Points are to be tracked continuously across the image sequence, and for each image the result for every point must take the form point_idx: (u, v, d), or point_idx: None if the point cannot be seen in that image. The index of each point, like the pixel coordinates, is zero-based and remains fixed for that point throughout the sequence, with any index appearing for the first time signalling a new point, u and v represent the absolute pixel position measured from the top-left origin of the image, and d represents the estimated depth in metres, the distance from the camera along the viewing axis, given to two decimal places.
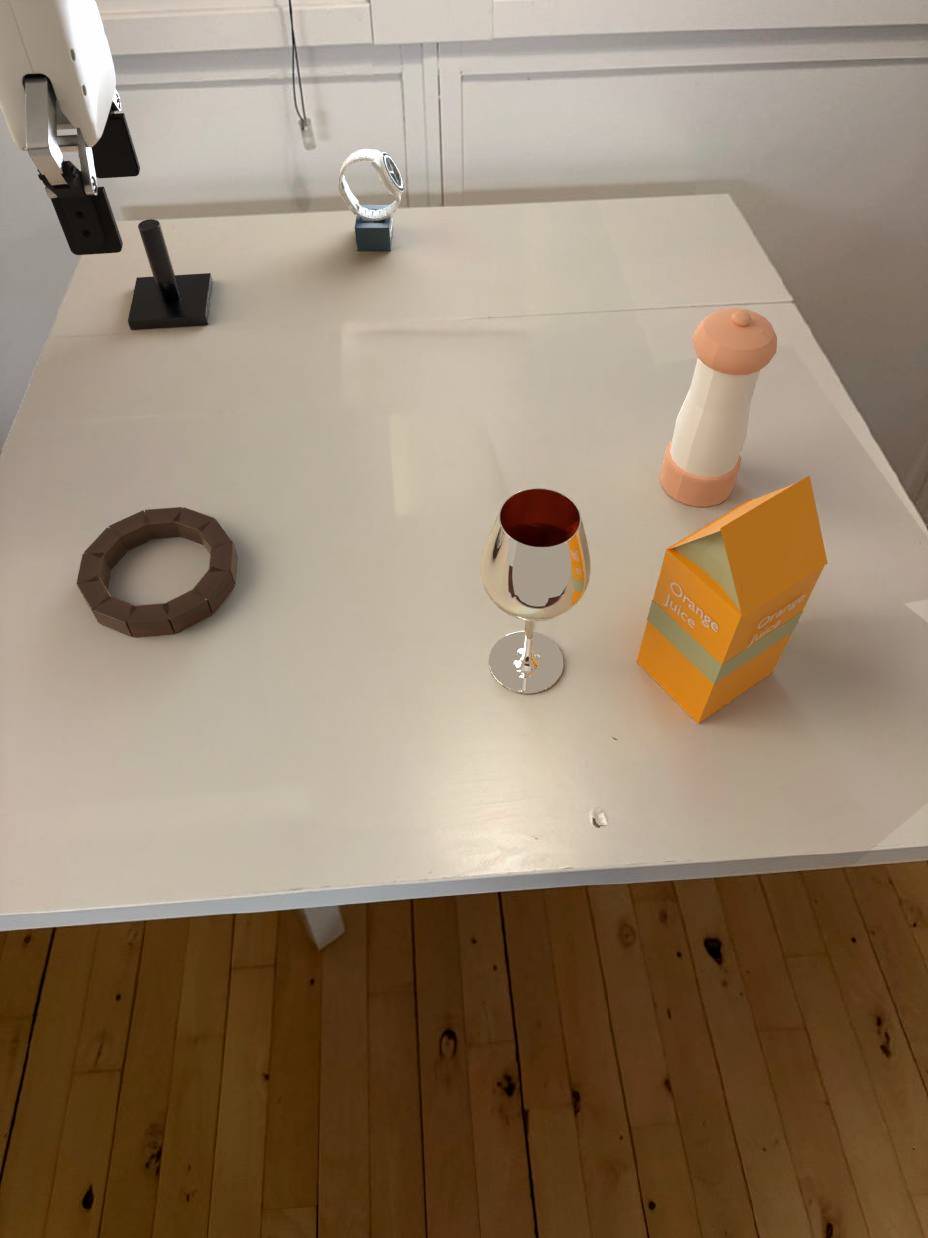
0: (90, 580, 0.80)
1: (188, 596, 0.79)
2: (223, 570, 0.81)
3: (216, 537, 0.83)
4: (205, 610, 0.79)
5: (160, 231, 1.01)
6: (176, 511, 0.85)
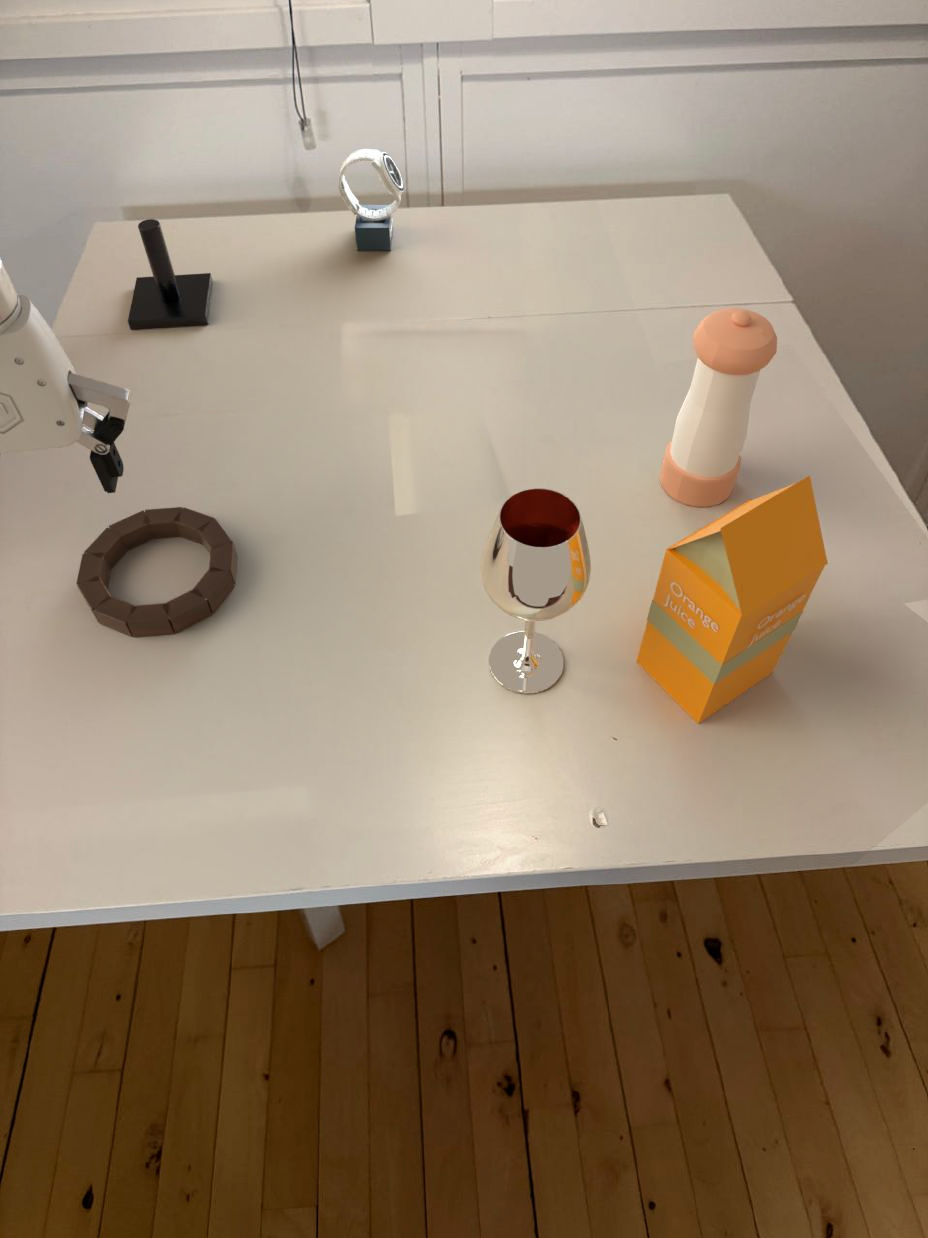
0: (90, 580, 0.80)
1: (188, 596, 0.79)
2: (223, 570, 0.81)
3: (216, 537, 0.83)
4: (205, 610, 0.79)
5: (160, 231, 1.01)
6: (176, 511, 0.85)
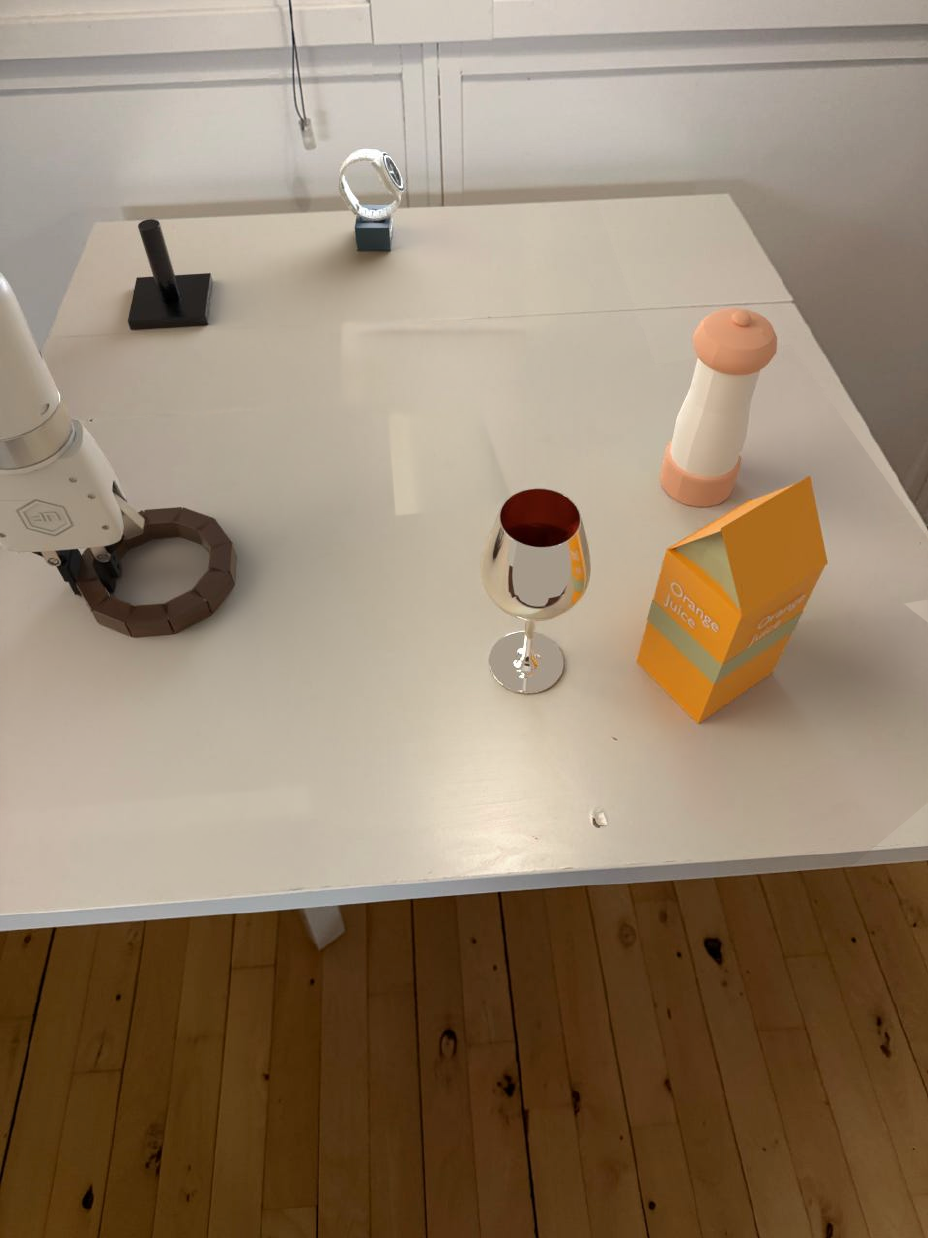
0: (89, 580, 0.80)
1: (187, 596, 0.79)
2: (222, 571, 0.80)
3: (215, 537, 0.83)
4: (204, 611, 0.79)
5: (160, 231, 1.01)
6: (175, 511, 0.85)
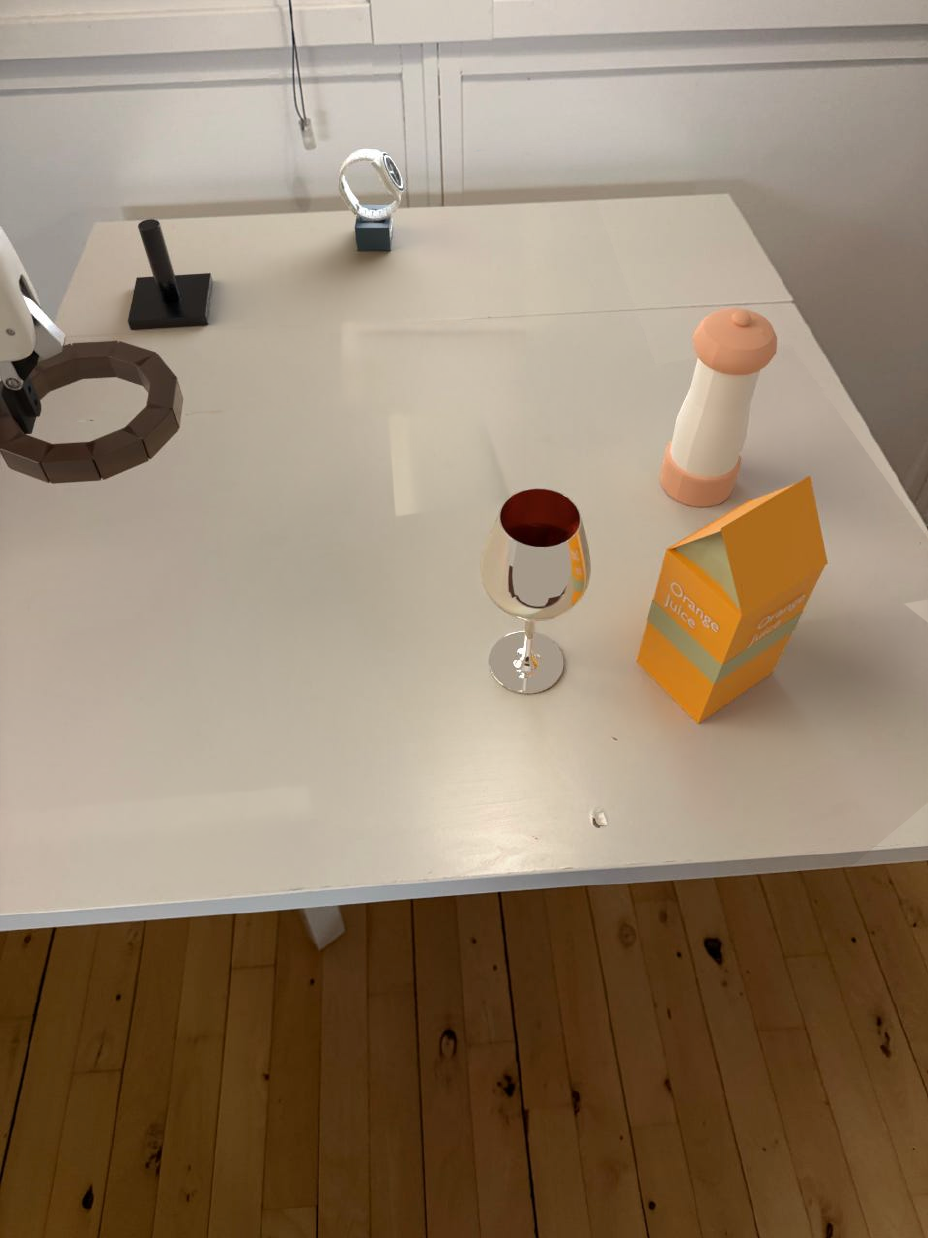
0: None
1: (119, 434, 0.64)
2: (163, 407, 0.66)
3: (157, 372, 0.68)
4: (140, 453, 0.64)
5: (160, 231, 1.01)
6: (110, 345, 0.70)
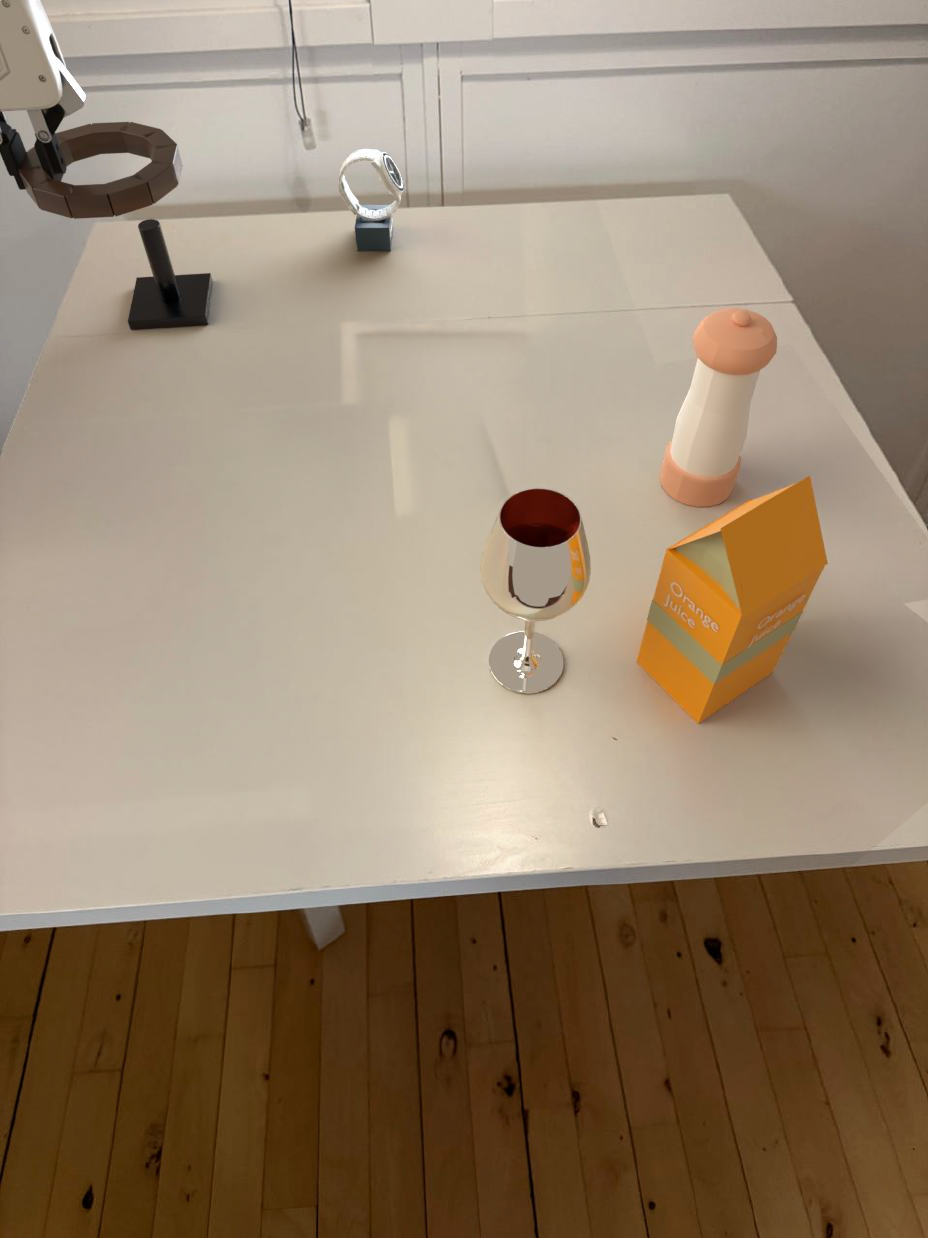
0: (32, 168, 0.80)
1: (128, 179, 0.79)
2: (165, 162, 0.80)
3: (160, 140, 0.83)
4: (145, 195, 0.79)
5: (160, 231, 1.01)
6: (123, 124, 0.85)
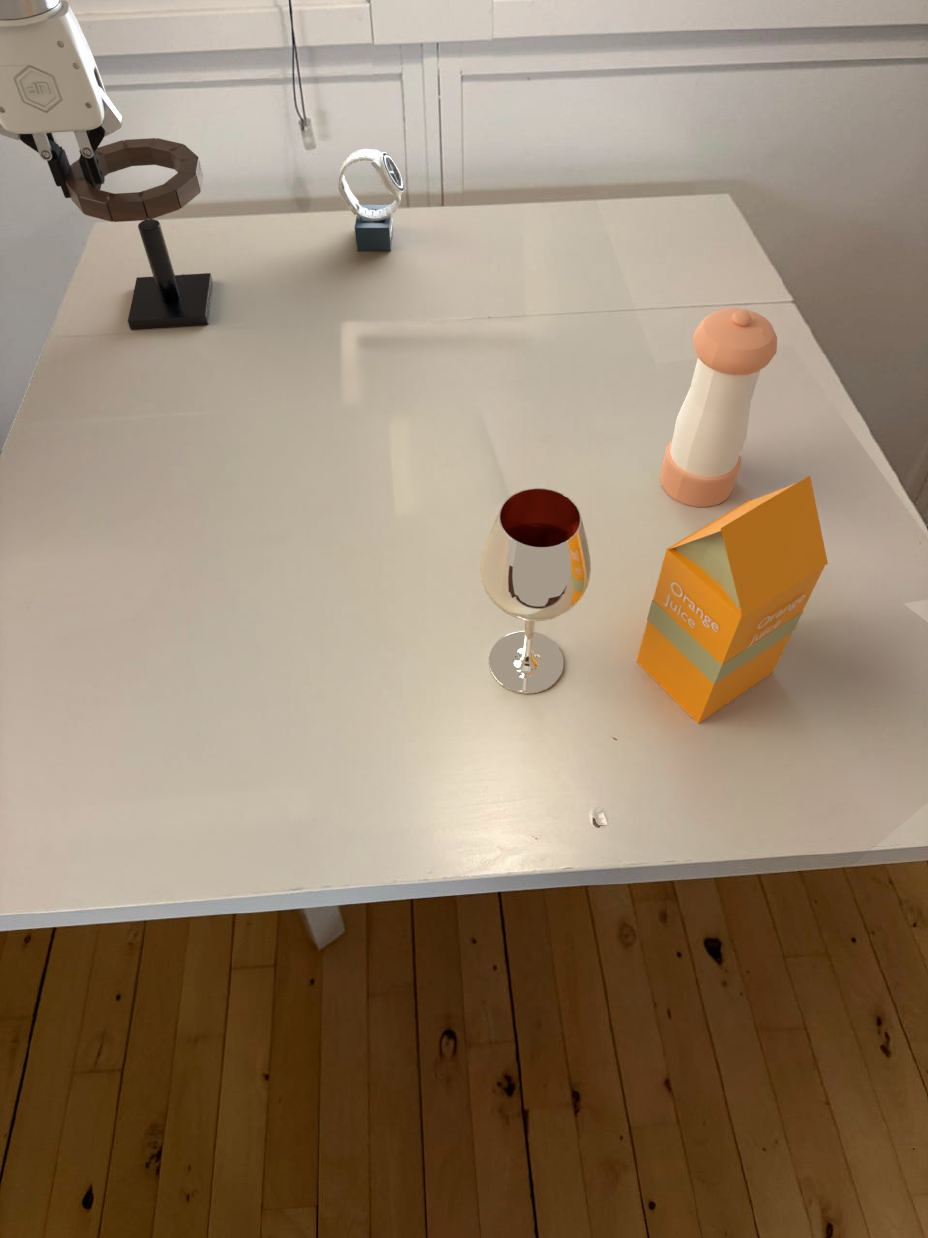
0: (76, 179, 0.94)
1: (159, 187, 0.93)
2: (189, 173, 0.95)
3: (184, 154, 0.97)
4: (174, 201, 0.93)
5: (160, 231, 1.01)
6: (151, 140, 0.99)
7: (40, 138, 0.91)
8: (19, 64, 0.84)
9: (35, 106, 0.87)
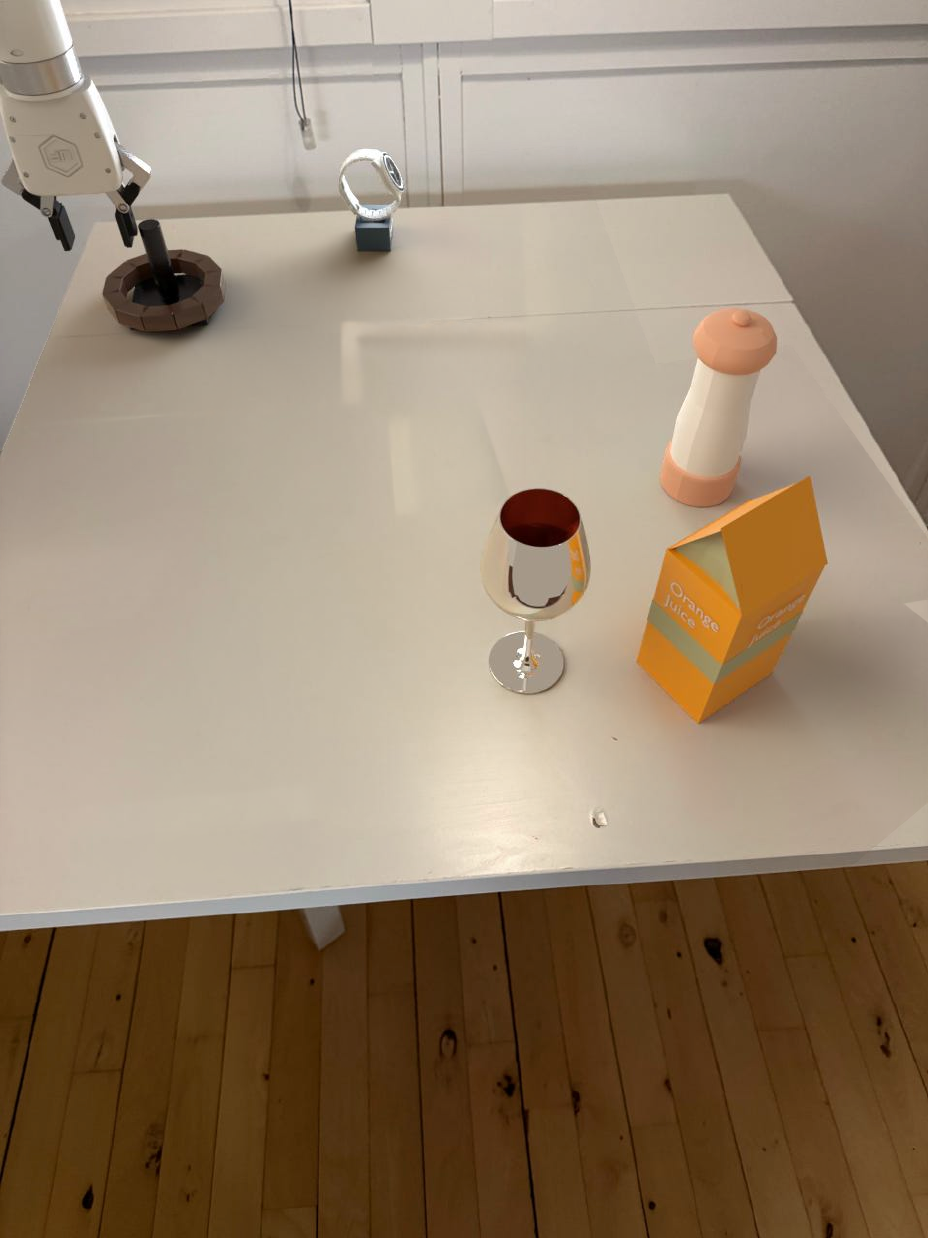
0: (112, 291, 1.04)
1: (187, 301, 1.03)
2: (214, 286, 1.05)
3: (209, 266, 1.08)
4: (200, 313, 1.04)
5: (160, 231, 1.01)
6: (178, 251, 1.09)
7: (41, 197, 0.95)
8: (43, 134, 0.89)
9: (58, 171, 0.92)
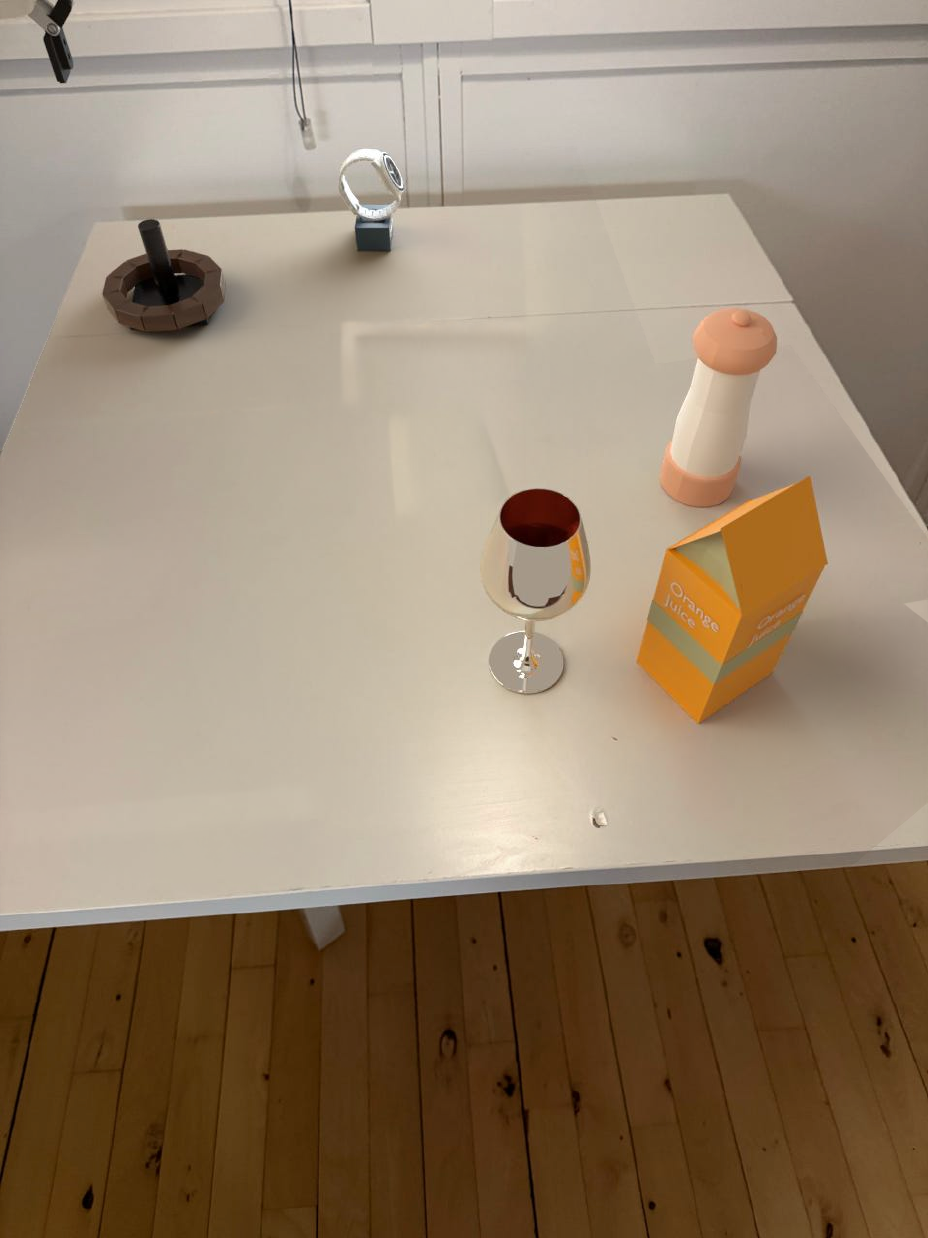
0: (112, 291, 1.04)
1: (187, 301, 1.03)
2: (214, 286, 1.05)
3: (209, 266, 1.08)
4: (200, 313, 1.04)
5: (160, 231, 1.01)
6: (178, 251, 1.09)
7: None
8: None
9: None
